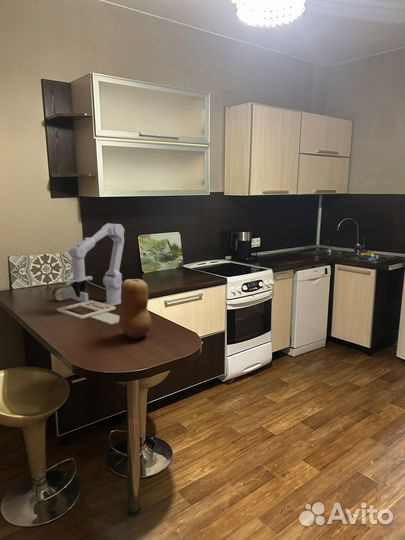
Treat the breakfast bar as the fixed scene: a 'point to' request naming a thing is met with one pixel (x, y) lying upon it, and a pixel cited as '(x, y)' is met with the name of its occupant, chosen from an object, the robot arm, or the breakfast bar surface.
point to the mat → (107, 318)
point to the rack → (86, 307)
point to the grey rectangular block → (80, 296)
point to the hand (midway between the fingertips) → (80, 296)
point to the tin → (62, 292)
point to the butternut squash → (134, 308)
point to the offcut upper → (97, 306)
